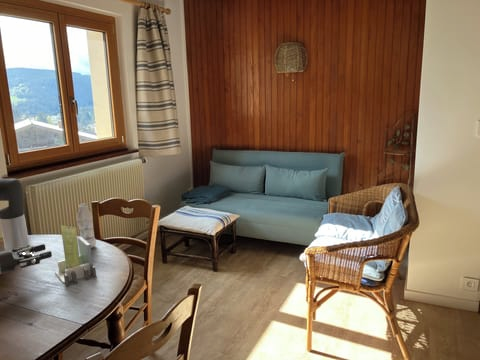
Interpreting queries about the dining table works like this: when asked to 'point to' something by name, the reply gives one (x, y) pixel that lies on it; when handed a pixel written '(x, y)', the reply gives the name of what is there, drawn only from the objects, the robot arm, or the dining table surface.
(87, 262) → the end holder
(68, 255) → the tube
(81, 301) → the dining table surface
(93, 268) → the clips
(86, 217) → the plastic bottle
